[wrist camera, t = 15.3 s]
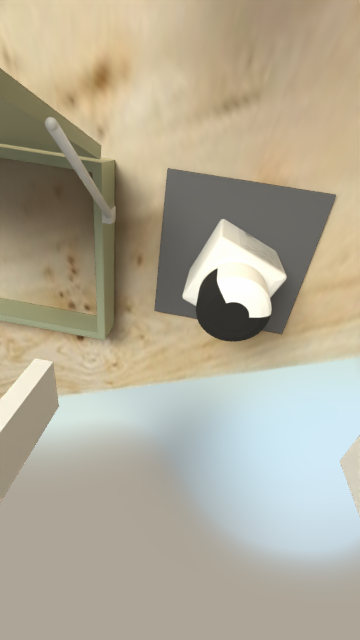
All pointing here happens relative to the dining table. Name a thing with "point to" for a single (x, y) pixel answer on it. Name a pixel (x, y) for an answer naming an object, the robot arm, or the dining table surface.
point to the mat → (250, 216)
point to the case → (104, 236)
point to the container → (233, 283)
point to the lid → (36, 122)
